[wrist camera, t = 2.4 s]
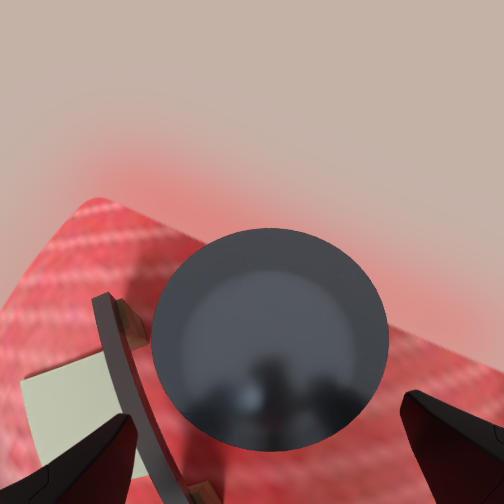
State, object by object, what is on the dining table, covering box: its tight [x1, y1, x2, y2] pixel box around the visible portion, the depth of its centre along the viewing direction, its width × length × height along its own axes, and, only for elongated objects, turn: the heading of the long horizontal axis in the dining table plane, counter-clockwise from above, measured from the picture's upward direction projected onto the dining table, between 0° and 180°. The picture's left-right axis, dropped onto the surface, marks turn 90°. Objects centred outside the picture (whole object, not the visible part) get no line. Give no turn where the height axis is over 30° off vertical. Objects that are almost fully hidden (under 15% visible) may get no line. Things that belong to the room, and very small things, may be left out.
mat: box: [20, 351, 149, 479], centre depth 15 cm, size 9×9×1 cm
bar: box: [91, 292, 197, 504], centre depth 13 cm, size 14×1×1 cm, turn 26°
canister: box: [151, 228, 389, 452], centre depth 12 cm, size 5×5×13 cm
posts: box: [116, 298, 222, 504], centre depth 14 cm, size 14×2×4 cm, turn 26°
